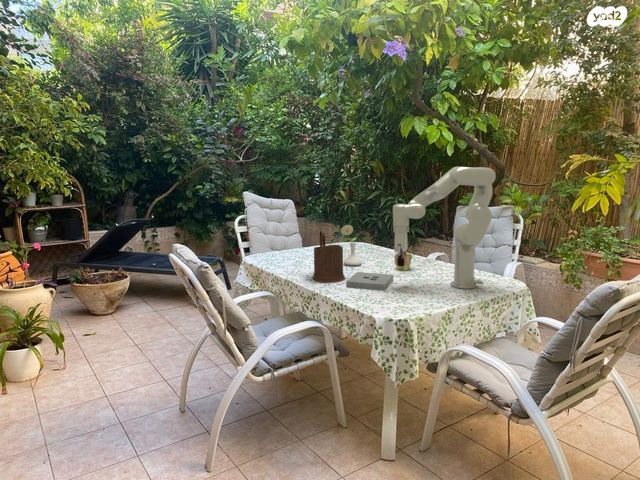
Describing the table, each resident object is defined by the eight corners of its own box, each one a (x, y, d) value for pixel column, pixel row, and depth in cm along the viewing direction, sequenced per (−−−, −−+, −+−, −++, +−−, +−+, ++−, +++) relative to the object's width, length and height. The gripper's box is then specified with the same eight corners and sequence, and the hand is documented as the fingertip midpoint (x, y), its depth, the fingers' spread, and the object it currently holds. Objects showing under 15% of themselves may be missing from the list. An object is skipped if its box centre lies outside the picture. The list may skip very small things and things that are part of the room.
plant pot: (411, 272, 255) (411, 257, 254) (394, 270, 258) (394, 256, 257) (413, 268, 264) (413, 253, 262) (397, 267, 267) (397, 253, 265)
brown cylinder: (316, 284, 233) (316, 237, 229) (306, 273, 256) (305, 230, 252) (350, 281, 238) (349, 235, 234) (336, 270, 261) (336, 228, 256)
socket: (393, 280, 239) (393, 274, 238) (384, 290, 220) (384, 284, 220) (357, 277, 246) (357, 272, 245) (346, 286, 228) (346, 281, 227)
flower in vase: (362, 262, 280) (362, 223, 275) (362, 267, 269) (362, 226, 264) (341, 262, 281) (341, 223, 277) (340, 266, 270) (340, 226, 266)
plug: (409, 267, 225) (408, 253, 224) (407, 270, 220) (406, 256, 219) (397, 266, 228) (397, 253, 226) (395, 269, 222) (394, 255, 221)
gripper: (397, 226, 229) (398, 260, 233) (389, 232, 214) (391, 268, 217) (411, 226, 227) (412, 260, 230) (405, 232, 211) (406, 268, 214)
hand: (402, 263), depth 223 cm, fingers closed on plug, 6 cm apart
